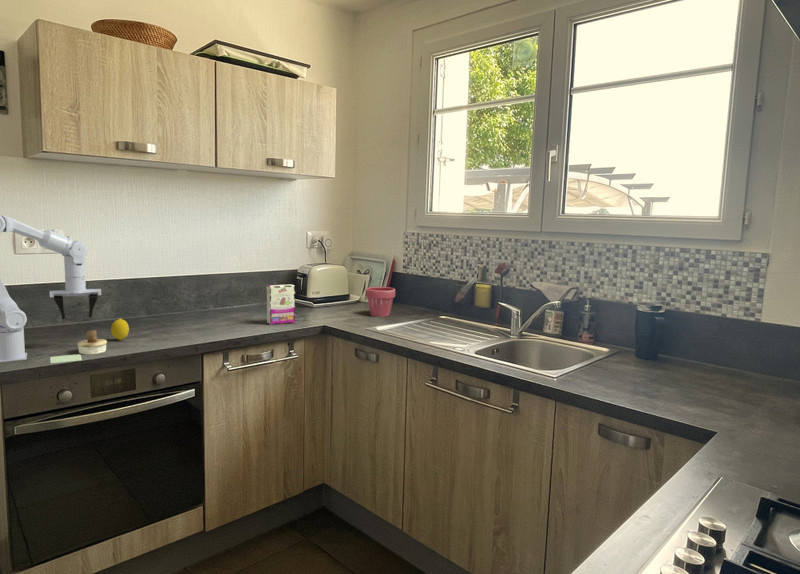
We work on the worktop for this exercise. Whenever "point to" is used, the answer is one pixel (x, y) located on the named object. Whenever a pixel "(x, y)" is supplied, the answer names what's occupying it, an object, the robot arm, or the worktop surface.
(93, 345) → the lid
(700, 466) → the worktop surface
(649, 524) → the worktop surface
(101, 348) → the bowl
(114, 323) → the lemon
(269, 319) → the candy bar box
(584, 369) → the worktop surface
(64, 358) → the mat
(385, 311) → the plant pot
